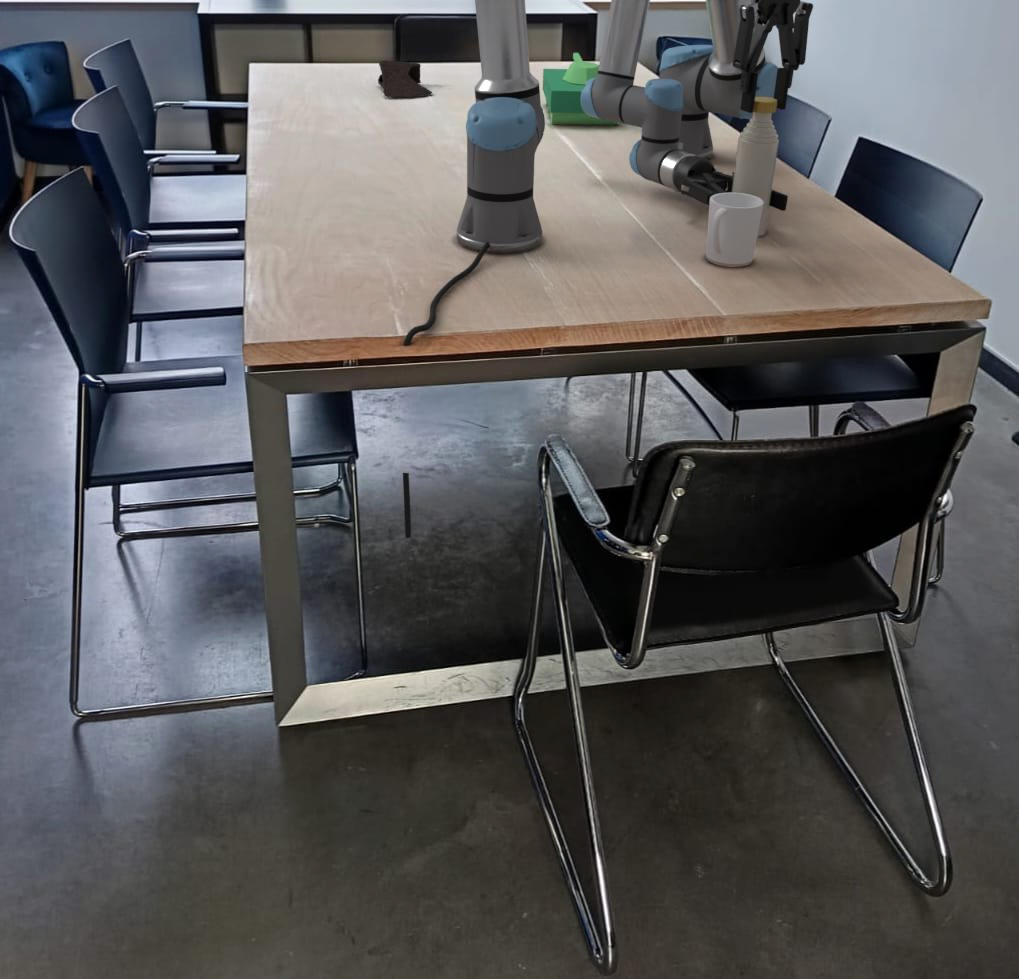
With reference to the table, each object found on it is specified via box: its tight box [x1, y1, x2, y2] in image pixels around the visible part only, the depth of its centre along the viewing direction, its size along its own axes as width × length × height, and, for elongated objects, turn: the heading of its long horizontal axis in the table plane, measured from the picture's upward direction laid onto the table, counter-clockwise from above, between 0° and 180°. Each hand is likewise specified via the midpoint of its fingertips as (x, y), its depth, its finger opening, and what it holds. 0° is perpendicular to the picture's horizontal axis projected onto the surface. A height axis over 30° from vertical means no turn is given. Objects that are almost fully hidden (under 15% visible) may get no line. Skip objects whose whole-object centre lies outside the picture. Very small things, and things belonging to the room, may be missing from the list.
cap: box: [753, 97, 778, 114], centre depth 191 cm, size 5×5×2 cm
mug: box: [705, 193, 764, 268], centre depth 186 cm, size 11×9×10 cm
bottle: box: [732, 112, 780, 238], centre depth 197 cm, size 7×7×23 cm
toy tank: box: [542, 52, 619, 126], centre depth 280 cm, size 18×12×35 cm
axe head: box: [377, 59, 433, 99], centre depth 299 cm, size 18×8×15 cm
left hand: (762, 109), depth 192 cm, fingers open, 6 cm apart
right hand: (768, 206), depth 197 cm, fingers closed on bottle, 7 cm apart
